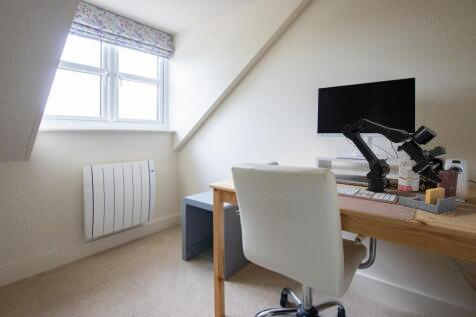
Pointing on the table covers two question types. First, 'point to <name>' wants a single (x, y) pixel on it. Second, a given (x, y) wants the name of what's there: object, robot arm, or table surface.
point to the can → (448, 182)
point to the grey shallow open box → (420, 204)
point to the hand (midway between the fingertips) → (445, 181)
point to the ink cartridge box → (408, 178)
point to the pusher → (434, 195)
